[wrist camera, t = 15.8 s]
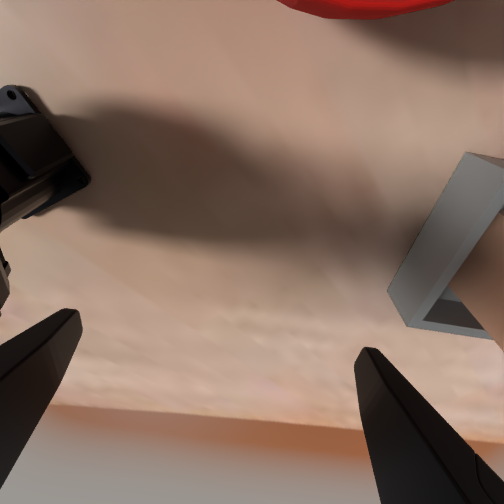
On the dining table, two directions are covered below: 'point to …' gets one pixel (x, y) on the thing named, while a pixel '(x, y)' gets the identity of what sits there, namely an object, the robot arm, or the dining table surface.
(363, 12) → the ceramic cup
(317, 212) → the dining table surface
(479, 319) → the terracotta bin
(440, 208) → the grey square tray
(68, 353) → the robot arm
